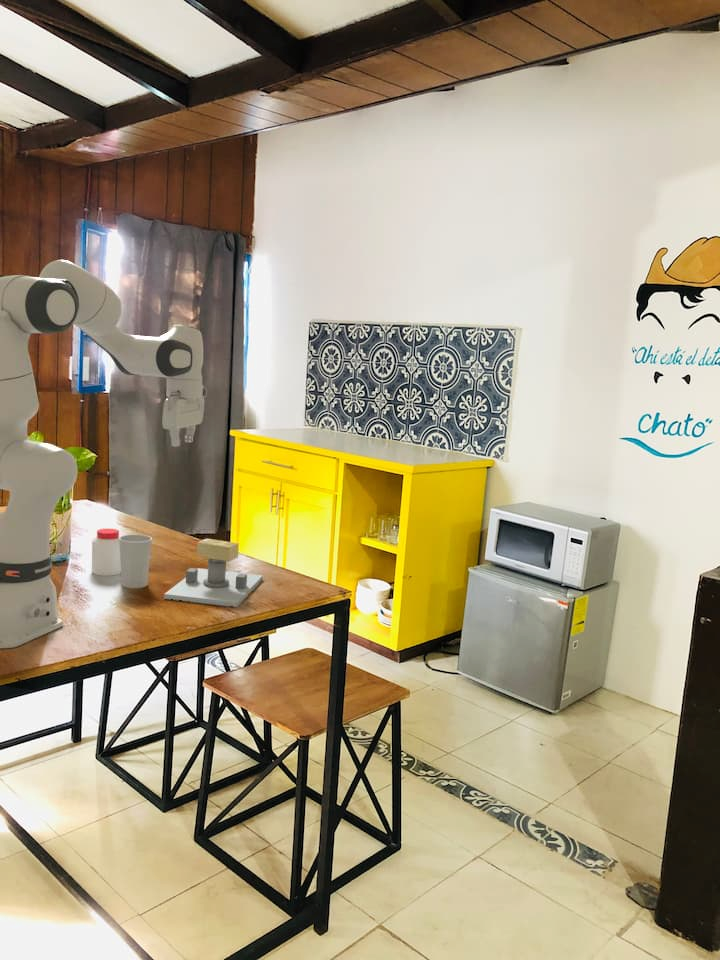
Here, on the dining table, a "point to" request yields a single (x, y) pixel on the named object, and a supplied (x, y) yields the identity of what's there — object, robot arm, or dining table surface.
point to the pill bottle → (106, 553)
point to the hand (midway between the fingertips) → (182, 444)
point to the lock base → (214, 586)
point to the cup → (134, 560)
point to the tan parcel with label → (217, 550)
